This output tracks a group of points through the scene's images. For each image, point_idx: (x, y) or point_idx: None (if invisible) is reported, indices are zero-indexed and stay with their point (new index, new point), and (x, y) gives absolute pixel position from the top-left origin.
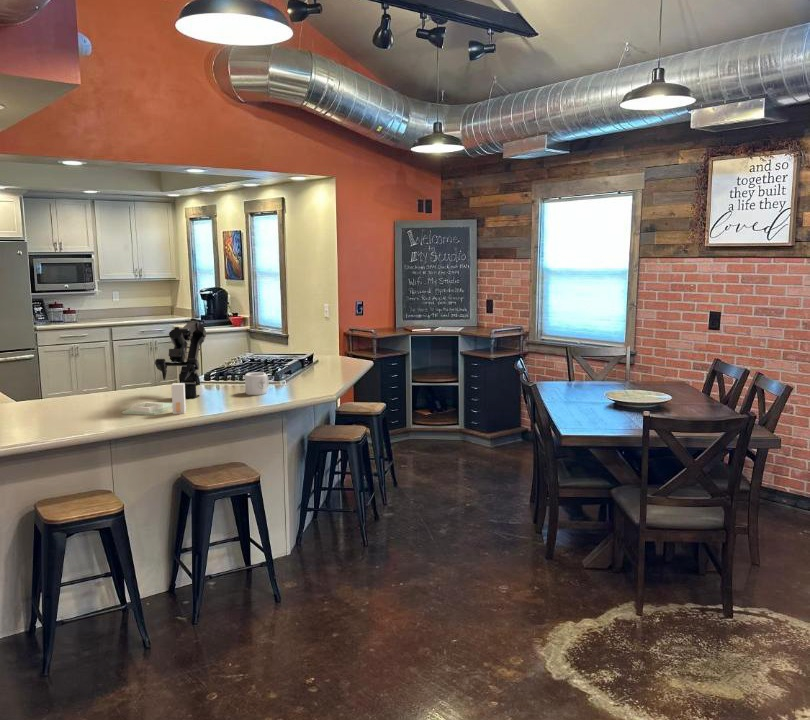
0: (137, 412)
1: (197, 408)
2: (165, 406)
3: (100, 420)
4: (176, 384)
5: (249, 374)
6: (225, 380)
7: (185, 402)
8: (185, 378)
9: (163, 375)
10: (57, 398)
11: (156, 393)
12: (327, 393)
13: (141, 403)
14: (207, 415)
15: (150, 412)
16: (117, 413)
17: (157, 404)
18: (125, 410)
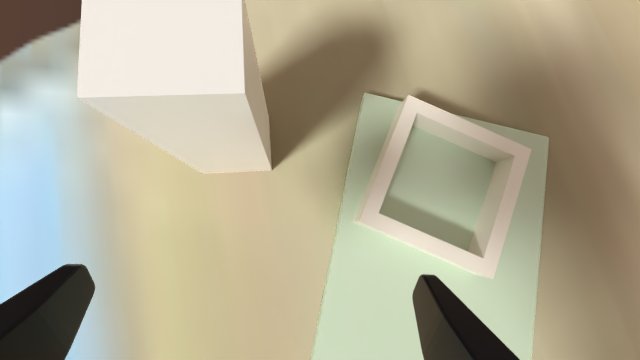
0: (462, 117)
1: (138, 261)
2: (347, 263)
3: (579, 17)
4: (181, 9)
5: None
6: None
7: (181, 160)
8: (51, 283)
9: (471, 324)
10: None
11: None
12: None
13: (498, 229)
14: (55, 65)
15: (390, 103)
16: (566, 153)
17: (385, 193)
18: (543, 164)
